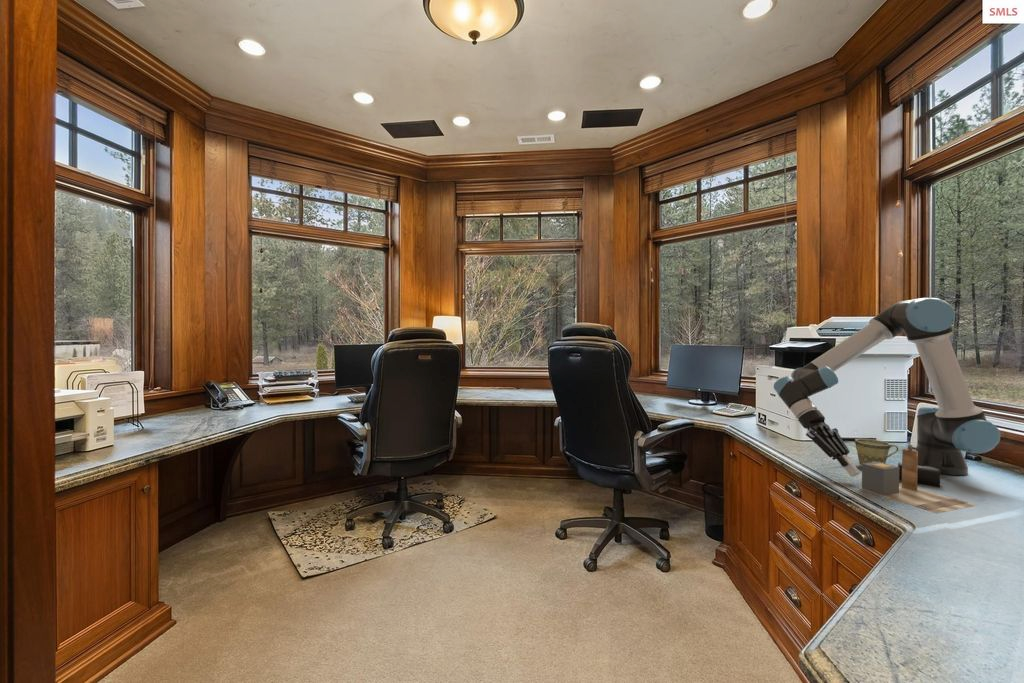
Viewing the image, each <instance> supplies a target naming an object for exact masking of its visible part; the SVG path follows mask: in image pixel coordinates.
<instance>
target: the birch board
mask: <svg viewBox="0 0 1024 683" xmlns="http://www.w3.org/2000/svg"><path fill="white" fill-rule="evenodd" d="M861 490H863V491H866V492H868V493H872V494H875V495H879V496H881V497H884V498H887V499H891V500H894V501H897V502H900V503H904V504H906V505H909V506H913V507H916V508H919V509H922V510H926V511H928V512H932V513H935V514H940V513H945V512H951V511H956V510H962V509H966V508H971V507H976V506H977V504H973V503H970V502H968V501H964V500H961V499H958V498H957V499H956V498H952V497H949V496H946V495H942V494H939V493H935V492H932V491H929V490H925V489H923V488H918V487H917V490H911V489H906V488H903V487H902V482H901V483H900V482H899V493H896V494H890V495H884V496H883V495H880V494H877V493H874V492H871V491H868V490H864V489H862V488H861Z"/></svg>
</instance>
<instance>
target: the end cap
mask: <svg viewBox="0 0 1024 683" xmlns="http://www.w3.org/2000/svg"><path fill="white" fill-rule="evenodd" d="M897 467H899V481H902V462H898V464H897ZM917 484H920V485H925V486H926V485H927V486H932V487H937V488H940V487H941V473H940V469H937V468H935V467H929V466H919V465H918V475H917Z"/></svg>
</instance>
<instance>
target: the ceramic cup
mask: <svg viewBox="0 0 1024 683" xmlns="http://www.w3.org/2000/svg"><path fill="white" fill-rule="evenodd" d="M854 441H855V442H854V444H855V448H856V452H857V453H856V454H857V458H858V464H859V467H860V466H861V467H862V463H870V462H881V463H885V464H887V463H886V462H887V459H888V458H890V457H891V456H892V455H894V454H896V453H897V452H899V447H898V446H897V445H895V444H890V443H889V442H887V441H884V440H879V439H874V438H873V439H870V438H855V439H854ZM893 447H895V448H896V450H895V451H894V452H891V453H890V454H889V452H890V449H891V448H893Z"/></svg>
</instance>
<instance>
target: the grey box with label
mask: <svg viewBox="0 0 1024 683" xmlns="http://www.w3.org/2000/svg"><path fill="white" fill-rule="evenodd" d="M899 483H900V480H899V467H898V465H897V466H896V465H893V464H892V465H891V464H888V463H881V462H870V463H862V466H861V490H862V489H864V490H863V491H865V490H868V491H867V492H869V491H871V492H870V493H872V492H874V493H873V494H875V493H877V494H876V495H878V494H880V495H879V496H881V495H883V496H882V497H884V495H890V494H896V493H899Z"/></svg>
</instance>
